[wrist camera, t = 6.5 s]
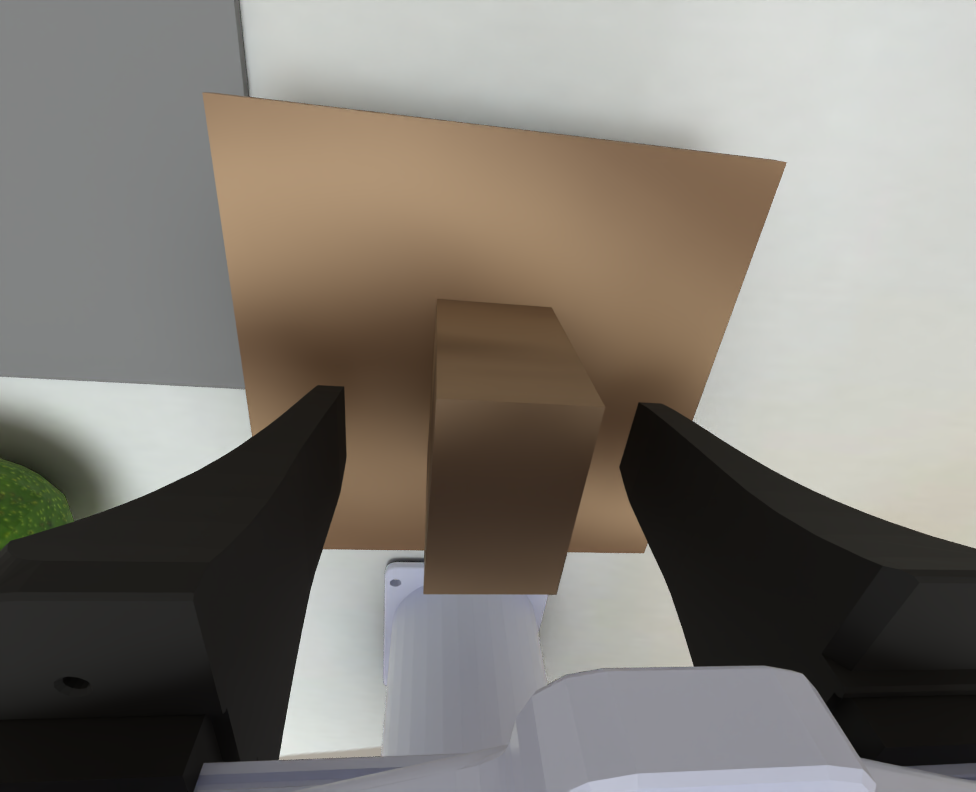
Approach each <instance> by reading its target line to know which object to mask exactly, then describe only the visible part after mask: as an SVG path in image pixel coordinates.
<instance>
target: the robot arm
mask: <svg viewBox="0 0 976 792" xmlns="http://www.w3.org/2000/svg"><path fill="white" fill-rule="evenodd" d="M346 458H347V452H346V421H345V391H344V386H326V385H317V386H316V387H314V388H313V389H312V390H311V391H310V392H308V393H307V394H306V395H305V396H304V397H302V398H301V399H300V400H299V401H298V402H296V403H295V404H294V405H293V406H292V407H290V408H289V409H288V410H287V411H286V412H285V413H283V414H282V415H281V416H280V417H278V418H277V419H276V420H275V421H273V422H272V423H271V424H269V425H268V426H267V427H265V428H264V429H263V430H261V431H260V432H258V433H257V434H256V435H254V436H253V437H251V438H250V439H249V440H247V441H246V442H244V443H243V444H242V445H240V446H239V447H237V448H235V449H234V450H232V451H231V452H229V453H228V454H226V455H224V456H223V457H221V458H219V459H217V460H216V461H214V462H212V463H210V464H209V465H207V466H205V467H203V468H202V469H200V470H198V471H196V472H194V473H192V474H190V475H188V476H186V477H184V478H181V479H179V480H177V481H175V482H173V483H171V484H169V485H167V486H165V487H162V488H160V489H158V490H156V491H154V492H152V493H149V494H147V495H145V496H142V497H140V498H137V499H135V500H132V501H130V502H128V503H125V504H122V505H120V506H117V507H114V508H112V509H109V510H106V511H104V512H101V513H98V514H95V515H92V516H90V517H87V518H84V519H81V520H78V521H74V522H71V523H68V524H65V525H61V526H58V527H55V528H52V529H48V530H45V531H42V532H39V533H35V534H32V535H29V536H26V537H22V538H18V539H15V540H11V541H10V542H9V543H8V544H6V545H5V546H4V547H3V548H2V549H1V550H0V792H976V549H975V548H971V547H968V546H964V545H961V544H957V543H954V542H950V541H947V540H943V539H940V538H936V537H933V536H930V535H927V534H923V533H920V532H918V531H915V530H912V529H909V528H906V527H903V526H900V525H897V524H894V523H891V522H888V521H885V520H883V519H880V518H877V517H875V516H872V515H869V514H867V513H864V512H862V511H859V510H857V509H854V508H852V507H849V506H847V505H845V504H842V503H840V502H837V501H835V500H832V499H830V498H828V497H826V496H823V495H821V494H819V493H817V492H815V491H812V490H810V489H808V488H806V487H804V486H802V485H800V484H798V483H796V482H794V481H792V480H790V479H788V478H786V477H784V476H782V475H780V474H779V473H777V472H775V471H773V470H771V469H769V468H768V467H766V466H764V465H762V464H761V463H759V462H757V461H755V460H754V459H752V458H750V457H748V456H747V455H745V454H743V453H742V452H740V451H739V450H737V449H735V448H734V447H732V446H730V445H729V444H727V443H726V442H724V441H722V440H721V439H719V438H718V437H716V436H715V435H713V434H712V433H710V432H708V431H707V430H705V429H704V428H702V427H701V426H699V425H698V424H696V423H695V422H693V421H691V420H690V419H688V418H687V417H685V416H683V415H682V414H680V413H679V412H677V411H675V410H673V409H672V408H670V407H668V406H666V405H664V404H662V403H643V402H638V406H637V409H636V412H635V416H634V419H633V423H632V426H631V429H630V433H629V436H628V439H627V443H626V446H625V449H624V453H623V456H622V459H621V463H620V466H619V468H620V472H621V476H622V480H623V483H624V487H625V490H626V493H627V497H628V500H629V502H630V505H631V507H632V509H633V512H634V514H635V516H636V518H637V520H638V523H639V525H640V527H641V529H642V531H643V533H644V535H645V538H646V540H647V542H648V544H649V546H650V548H651V550H652V553H653V555H654V557H655V559H656V561H657V563H658V565H659V568H660V570H661V572H662V574H663V576H664V579H665V581H666V583H667V586H668V588H669V591H670V593H671V596H672V599H673V602H674V605H675V608H676V611H677V614H678V617H679V620H680V623H681V626H682V629H683V632H684V635H685V639H686V642H687V645H688V648H689V652H690V655H691V658H692V662H693V665H694V667H649V668H602V669H596V670H590V671H584V672H579V673H573V674H567V675H565V676H563V677H561V678H559V679H557V680H555V681H553V682H551V683H550V684H548V682H547V677H546V672H545V666H544V661H543V656H542V650H541V645H540V640H539V630H540V626H541V622H542V618H543V614H544V610H545V606H546V602H547V598H548V595H506V594H423V585H424V562H393V563H390V564H389V565H388V566H387V567H386V569H385V600H384V666H383V683H384V685H386V686H387V691H386V702H385V714H384V726H383V738H382V749H381V756H378V757H351V758H327V759H326V758H325V759H299V760H279V755H280V749H281V743H282V736H283V730H284V725H285V719H286V714H287V708H288V702H289V697H290V691H291V686H292V680H293V675H294V669H295V664H296V659H297V654H298V649H299V643H300V638H301V633H302V628H303V623H304V618H305V614H306V609H307V604H308V599H309V594H310V590H311V586H312V582H313V579H314V575H315V571H316V568H317V565H318V562H319V559H320V556H321V553H322V550H323V546H324V543H325V540H326V537H327V534H328V531H329V528H330V525H331V522H332V518H333V515H334V512H335V509H336V506H337V503H338V499H339V496H340V493H341V487H342V482H343V476H344V470H345V464H346ZM394 579H398V580H394Z"/></svg>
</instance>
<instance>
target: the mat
mask: <svg viewBox="0 0 976 792" xmlns="http://www.w3.org/2000/svg"><path fill="white" fill-rule="evenodd" d="M202 92H210V93H221V94H230V95H238V96H246V97H249V93H248V83H247V74H246V64H245V54H244V45H243V35H242V26H241V16H240V7H239V0H0V377H20V378H39V379H58V380H78V381H97V382H116V383H136V384H155V385H175V386H194V387H213V388H233V389H245V383H244V376H243V370H242V363H241V356H240V349H239V342H238V335H237V328H236V321H235V314H234V307H233V301H232V294H231V287H230V280H229V273H228V266H227V259H226V252H225V245H224V239H223V232H222V225H221V218H220V211H219V204H218V197H217V190H216V183H215V176H214V170H213V163H212V156H211V149H210V142H209V135H208V128H207V121H206V114H205V108H204V101H203V94H202Z"/></svg>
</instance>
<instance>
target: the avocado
mask: <svg viewBox="0 0 976 792" xmlns="http://www.w3.org/2000/svg"><path fill="white" fill-rule="evenodd" d="M71 522H74V520H73V517H72V514H71V512H70V509H69V505H68V503H67V500H66V498H65V495H64V494H63V493H62V492H60V491H59V490H58V489H57V488H56V487H54V486H53V485H52V484H51V483H50V482H48V481H47V480H46V479H45V478H44V477H42V476H41V475H39V474H37V473H36V472H34V471H32V470H30V469H28V468H26V467H24V466H22V465H19V464H16V463H13V462H10V461H7V460H4V459H1V458H0V550H1V549H2V548H3V547H4V546H5V545H6V544H8V543H9V542H10V541H11V540H15V539H18V538H22V537H26V536H29V535H32V534H35V533H39V532H42V531H45V530H48V529H52V528H55V527H58V526H61V525H65V524H68V523H71Z"/></svg>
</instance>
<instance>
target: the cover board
mask: <svg viewBox="0 0 976 792" xmlns="http://www.w3.org/2000/svg"><path fill="white" fill-rule="evenodd" d="M202 94H203V101H204V108H205V114H206V121H207V128H208V135H209V142H210V149H211V156H212V163H213V170H214V176H215V183H216V190H217V197H218V204H219V211H220V218H221V225H222V232H223V239H224V245H225V252H226V259H227V266H228V273H229V280H230V287H231V294H232V301H233V307H234V314H235V321H236V328H237V335H238V342H239V349H240V356H241V363H242V370H243V376H244V383H245V390H246V397H247V404H248V411H249V418H250V425H251V432H252V437H253V436H254V435H256V434H257V433H258V432H260V431H261V430H263V429H264V428H265V427H267V426H268V425H269V424H271V423H272V422H273V421H275V420H276V419H277V418H278V417H280V416H281V415H282V414H283V413H285V412H286V411H287V410H288V409H289V408H290V407H292V406H293V405H294V404H295V403H296V402H298V401H299V400H300V399H301V398H302V397H304V396H305V395H306V394H307V393H308V392H310V391H311V390H312V389H313V388H314V387H316V386H317V385H326V386H344V391H345V421H346V452H347V458H346V464H345V470H344V476H343V482H342V487H341V493H340V496H339V499H338V503H337V506H336V509H335V512H334V515H333V518H332V522H331V525H330V528H329V531H328V534H327V537H326V540H325V543H324V546H323V549H355V550H424V585H423V594H506V595H556V594H557V590H558V586H559V583H560V579H561V575H562V571H563V567H564V563H565V560H566V556H567V552H594V553H644V552H645V549H646V546H647V543H648V542H647V540H646V538H645V535H644V533H643V531H642V529H641V527H640V525H639V523H638V520H637V518H636V516H635V514H634V512H633V509H632V507H631V505H630V502H629V500H628V497H627V493H626V490H625V487H624V483H623V480H622V476H621V472H620V468H619V466H620V463H621V459H622V456H623V453H624V449H625V446H626V443H627V439H628V436H629V433H630V429H631V426H632V423H633V419H634V416H635V412H636V409H637V406H638V402H643V403H662V404H664V405H666V406H668V407H670V408H672V409H673V410H675V411H677V412H679V413H680V414H682V415H683V416H685V417H687V418H688V419H690V420H691V421H692V420H693V418H694V415H695V412H696V409H697V407H698V404H699V401H700V398H701V396H702V393H703V390H704V387H705V385H706V382H707V379H708V376H709V374H710V371H711V368H712V366H713V363H714V360H715V357H716V355H717V352H718V349H719V346H720V344H721V341H722V338H723V335H724V333H725V330H726V327H727V324H728V322H729V319H730V316H731V314H732V311H733V308H734V305H735V303H736V300H737V297H738V294H739V292H740V289H741V286H742V283H743V281H744V278H745V275H746V272H747V270H748V267H749V264H750V262H751V259H752V256H753V253H754V251H755V248H756V245H757V242H758V240H759V237H760V234H761V231H762V229H763V226H764V223H765V220H766V218H767V215H768V212H769V210H770V207H771V204H772V201H773V199H774V196H775V193H776V190H777V188H778V185H779V182H780V179H781V177H782V174H783V171H784V168H785V166H786V163H787V162H782V161H777V160H771V159H763V158H755V157H746V156H738V155H730V154H721V153H713V152H705V151H696V150H688V149H680V148H671V147H663V146H655V145H646V144H638V143H630V142H621V141H613V140H605V139H596V138H588V137H580V136H571V135H563V134H555V133H546V132H538V131H530V130H521V129H513V128H505V127H496V126H488V125H480V124H471V123H463V122H455V121H446V120H438V119H430V118H421V117H413V116H405V115H396V114H388V113H380V112H371V111H363V110H355V109H346V108H338V107H330V106H321V105H313V104H305V103H296V102H288V101H280V100H271V99H263V98H255V97H246V96H238V95H230V94H221V93H210V92H202Z"/></svg>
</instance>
